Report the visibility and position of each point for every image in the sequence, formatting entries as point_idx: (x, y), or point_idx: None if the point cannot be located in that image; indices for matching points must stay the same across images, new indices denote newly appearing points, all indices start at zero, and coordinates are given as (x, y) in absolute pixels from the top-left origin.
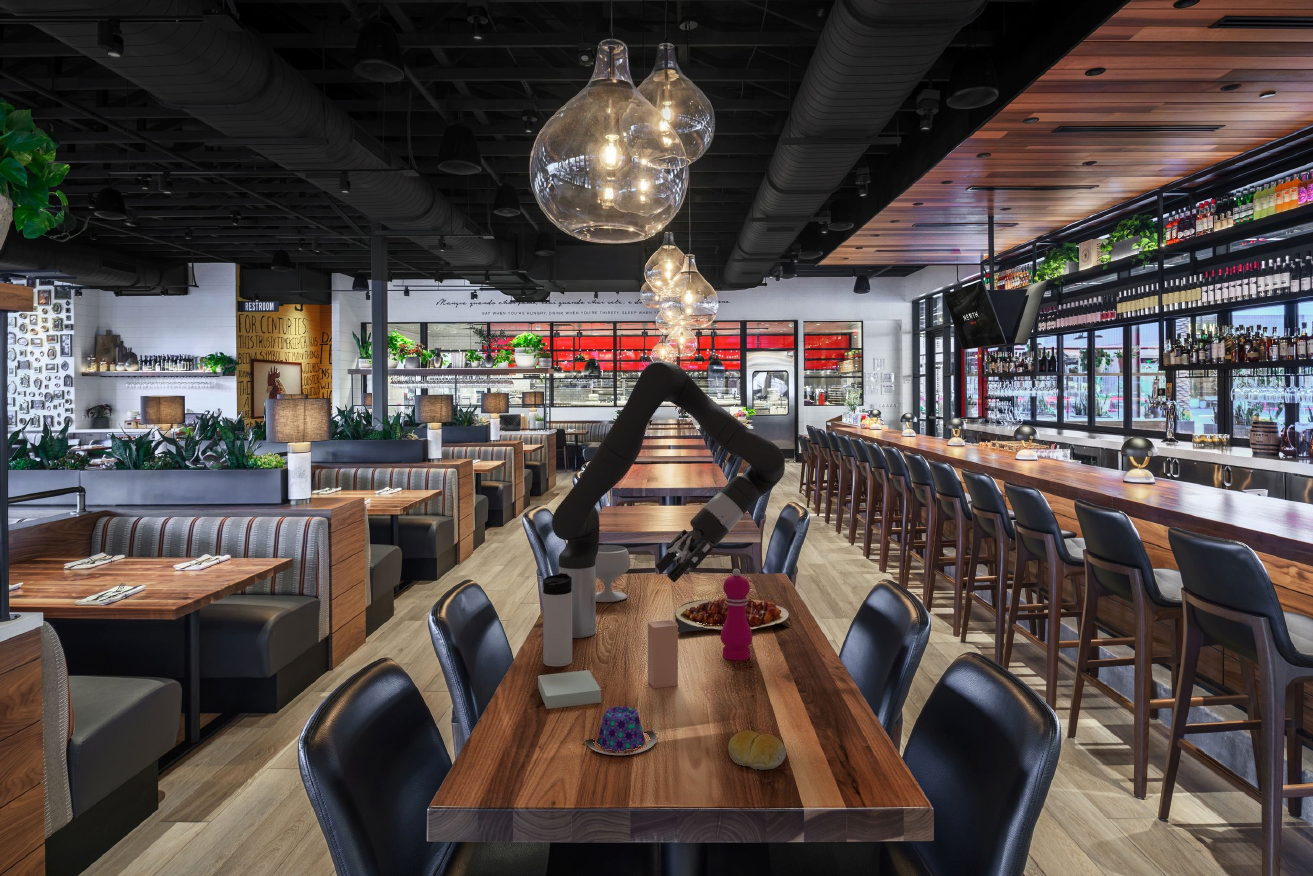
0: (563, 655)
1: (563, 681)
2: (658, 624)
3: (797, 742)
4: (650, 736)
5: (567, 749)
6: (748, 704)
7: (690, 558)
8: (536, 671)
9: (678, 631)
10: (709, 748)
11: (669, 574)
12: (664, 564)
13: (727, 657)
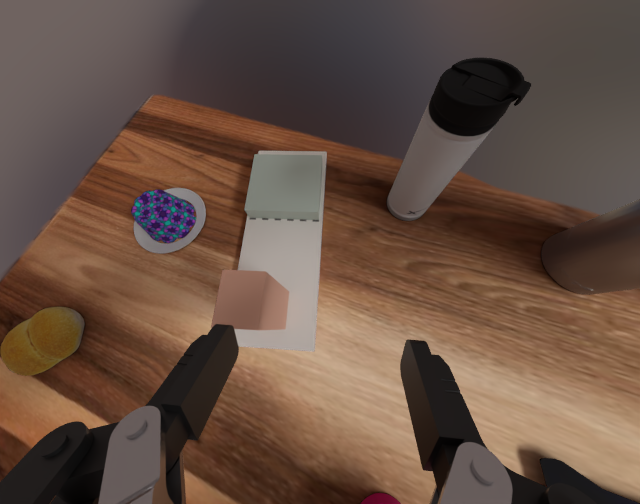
0: (392, 195)
1: (290, 177)
2: (238, 287)
3: (46, 412)
4: (160, 248)
5: (183, 174)
6: None
7: (13, 475)
8: None
9: (548, 461)
10: (104, 298)
11: (213, 330)
12: (414, 390)
13: (369, 497)
